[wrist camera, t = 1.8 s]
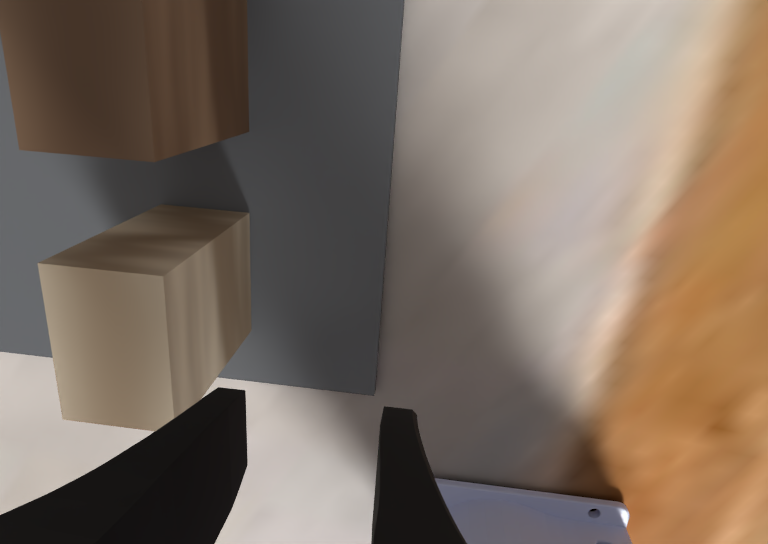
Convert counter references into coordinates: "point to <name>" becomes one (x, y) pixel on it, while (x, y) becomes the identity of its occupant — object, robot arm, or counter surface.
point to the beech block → (147, 314)
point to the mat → (248, 195)
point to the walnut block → (126, 75)
